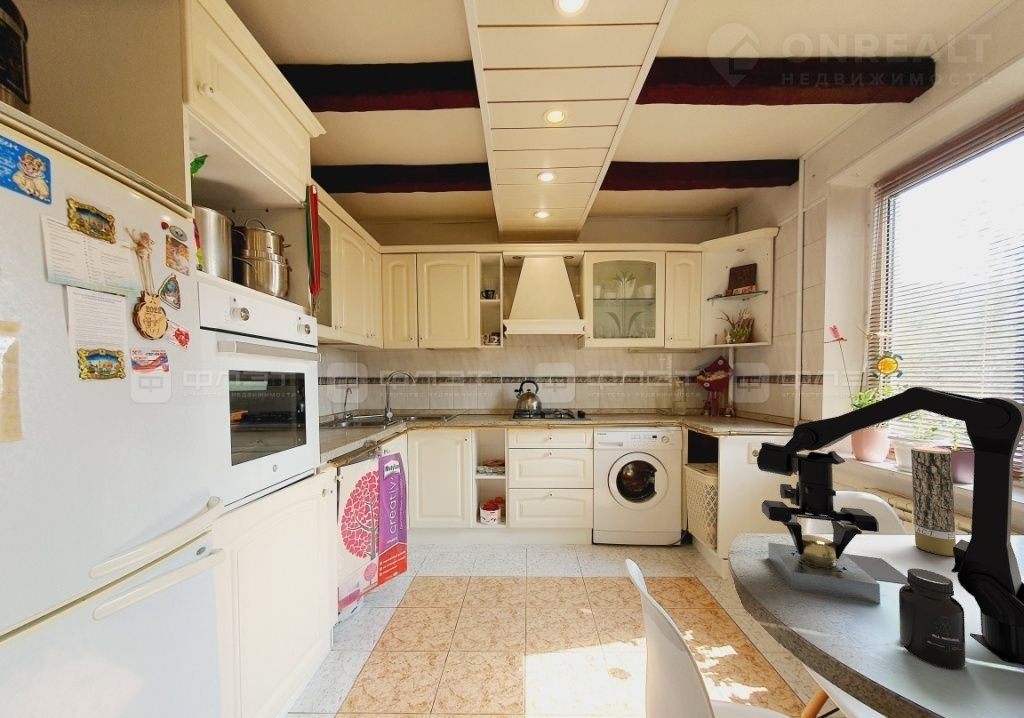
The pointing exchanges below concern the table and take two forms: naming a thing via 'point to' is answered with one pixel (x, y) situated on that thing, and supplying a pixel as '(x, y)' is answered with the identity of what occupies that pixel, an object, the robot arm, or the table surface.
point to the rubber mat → (878, 569)
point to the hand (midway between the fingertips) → (817, 556)
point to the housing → (824, 575)
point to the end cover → (818, 551)
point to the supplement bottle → (932, 620)
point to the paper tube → (933, 500)
